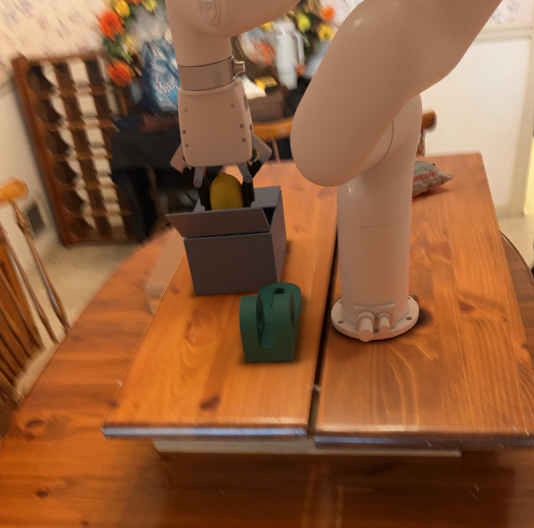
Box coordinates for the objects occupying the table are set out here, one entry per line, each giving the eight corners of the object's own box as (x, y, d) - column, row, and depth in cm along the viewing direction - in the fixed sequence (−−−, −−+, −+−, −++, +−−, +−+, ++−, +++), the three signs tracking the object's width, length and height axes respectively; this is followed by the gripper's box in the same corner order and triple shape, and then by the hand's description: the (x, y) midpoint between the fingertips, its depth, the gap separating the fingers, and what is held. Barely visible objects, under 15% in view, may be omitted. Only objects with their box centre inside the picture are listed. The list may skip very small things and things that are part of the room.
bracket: (293, 360, 88) (287, 310, 83) (245, 362, 90) (236, 312, 84) (303, 294, 101) (299, 246, 95) (261, 296, 102) (255, 249, 97)
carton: (278, 290, 103) (271, 229, 96) (195, 295, 105) (182, 235, 98) (287, 242, 115) (281, 185, 108) (212, 248, 117) (201, 192, 110)
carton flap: (270, 228, 96) (270, 230, 96) (182, 235, 98) (182, 237, 98) (261, 206, 88) (261, 208, 88) (165, 214, 90) (165, 216, 90)
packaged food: (452, 190, 122) (454, 163, 118) (400, 209, 119) (401, 181, 115) (423, 178, 128) (424, 152, 124) (374, 196, 125) (373, 169, 121)
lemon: (233, 214, 104) (225, 163, 98) (256, 222, 101) (248, 169, 95) (207, 227, 102) (197, 175, 96) (229, 236, 98) (220, 182, 93)
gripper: (272, 60, 88) (286, 193, 100) (152, 74, 91) (180, 202, 103) (266, 75, 83) (281, 214, 95) (139, 89, 85) (170, 222, 98)
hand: (228, 207), depth 99 cm, fingers closed on lemon, 5 cm apart
